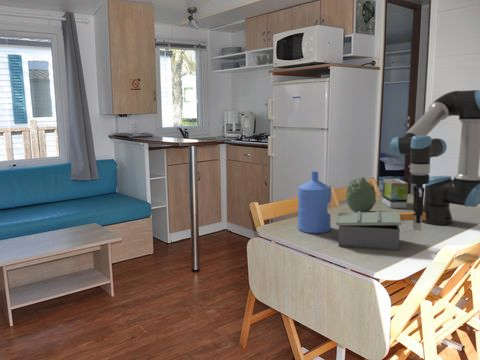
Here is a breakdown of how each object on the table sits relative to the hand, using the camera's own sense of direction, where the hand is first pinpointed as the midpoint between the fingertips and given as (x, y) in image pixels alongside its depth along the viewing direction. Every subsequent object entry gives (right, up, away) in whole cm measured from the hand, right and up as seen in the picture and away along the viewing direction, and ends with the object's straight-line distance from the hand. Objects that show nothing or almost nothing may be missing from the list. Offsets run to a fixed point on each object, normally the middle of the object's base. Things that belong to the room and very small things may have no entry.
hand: (416, 228), depth 179 cm
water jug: (-38, -4, +28) cm, 47 cm away
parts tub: (-18, -7, +7) cm, 21 cm away
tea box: (+17, +5, +73) cm, 76 cm away
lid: (-14, +3, +4) cm, 15 cm away
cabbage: (-8, +2, +57) cm, 58 cm away
